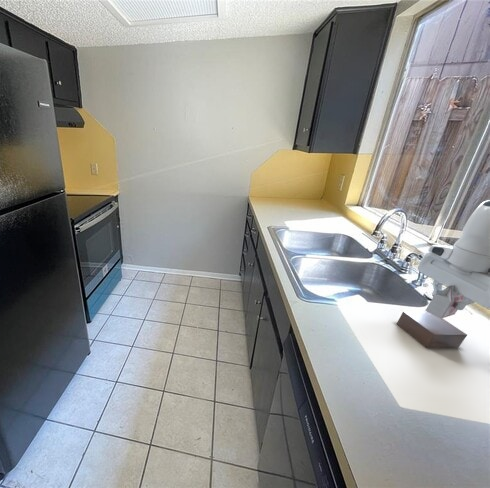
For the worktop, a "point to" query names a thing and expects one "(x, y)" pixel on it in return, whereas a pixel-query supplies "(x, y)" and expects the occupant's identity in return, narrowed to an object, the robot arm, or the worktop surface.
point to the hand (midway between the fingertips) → (446, 301)
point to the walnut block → (431, 330)
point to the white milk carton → (444, 302)
